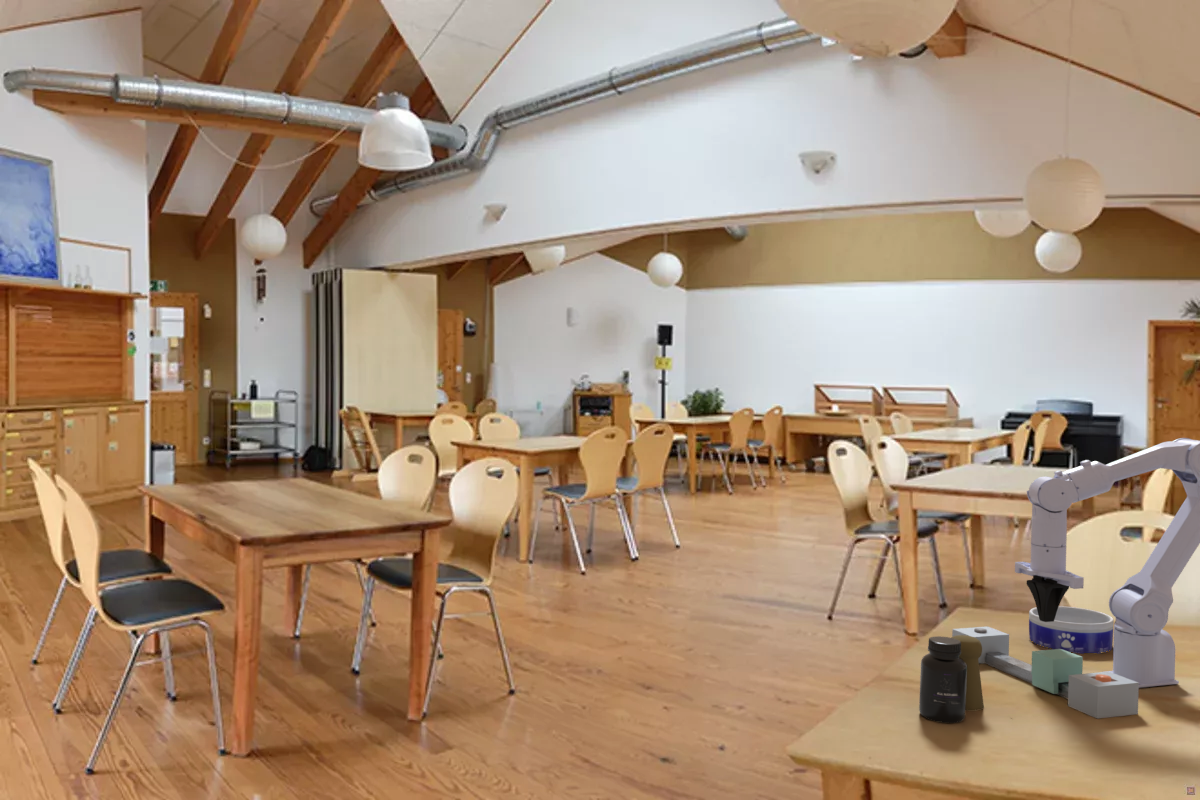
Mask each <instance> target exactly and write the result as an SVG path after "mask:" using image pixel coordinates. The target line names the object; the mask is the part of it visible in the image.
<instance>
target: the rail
mask: <svg viewBox="0 0 1200 800" xmlns="http://www.w3.org/2000/svg"><path fill="white" fill-rule="evenodd" d="M985 664H986V665H987V664H988V666H989V667H992V668H994V667H995V669H996V670H999V671H1002V672H1004V673H1006V674H1008V675H1011V676H1013V677H1016V678H1017V679H1020V680H1023V681H1024V682H1027V683H1029V684H1032V674H1031V670H1032V664H1030V663H1028V662H1025V661H1023V660H1020V659H1018V658H1015V657H1013V656H1010V655H1009V656H1008V655H1006V654H1003V653H1001V652H994V653H986V663H985ZM1068 684H1069V682H1062V683H1058V694H1056V695H1058V696H1060V697H1062V698H1065V699H1066V700H1068Z"/></svg>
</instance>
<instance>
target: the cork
mask: <svg viewBox="0 0 1200 800" xmlns="http://www.w3.org/2000/svg"><path fill="white" fill-rule="evenodd" d="M950 638H954V639H957V640H959V641H960V642H961V655H959V657H960V658H962V659H963V660H964V661H965V663H966V665H967V686H966V710H965V711H968V712H969V711H970V712H972V711H980V710H983V709H984V708H985V707H984V698H983V689H982V681H981V680H982V679H981V672H980V663H979V661H978V659H979V657H980V656H981V654H982V644H981V642H980V640H978V639H977V638H975V637H971V636H967V635H956V636H953V637H952V636H951V637H950Z"/></svg>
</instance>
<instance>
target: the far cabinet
mask: <svg viewBox="0 0 1200 800" xmlns="http://www.w3.org/2000/svg"><path fill="white" fill-rule="evenodd" d="M951 630H952V631H951V632H952V634H951V637H953V636H956V635H967V636H971V637H975V638H977V639H978V640H980V642H981V644H982V654H981V656H980V657H979V659H978V661H979V664H986V653H994V652H1001V653H1003V654H1006V655H1008V656H1010V653H1009V652H1010V648H1009V647H1010V634H1009V633H1006V632H1003V631H1001V630H998V629H996V628H993V627H991V626H987V625H986V626H977V627H960V628H952V629H951Z"/></svg>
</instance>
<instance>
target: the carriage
mask: <svg viewBox="0 0 1200 800" xmlns="http://www.w3.org/2000/svg"><path fill="white" fill-rule="evenodd" d="M1083 657H1084V656H1081V655H1079V654H1077V653H1071V652H1068V651H1065V650H1062V649H1045V650H1044V649H1043V650H1042V649H1041V650H1033V651H1032V650H1031V665H1032V670H1031V674H1032V683H1031V685H1032V686H1034V687H1036V688H1039V689H1041V690H1044V691H1045V692H1048V693H1051V694H1053V695H1057V694H1058V683H1062V682H1069V675H1076V674H1083V667H1084V666H1083V665H1084V663H1083V662H1084V660H1083V659H1084V658H1083Z"/></svg>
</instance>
